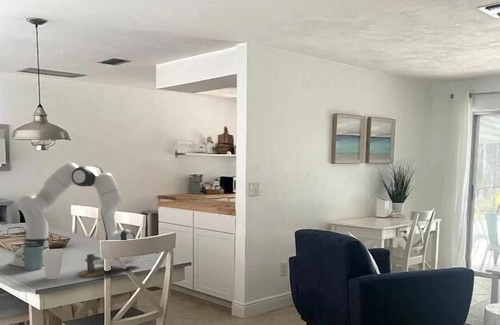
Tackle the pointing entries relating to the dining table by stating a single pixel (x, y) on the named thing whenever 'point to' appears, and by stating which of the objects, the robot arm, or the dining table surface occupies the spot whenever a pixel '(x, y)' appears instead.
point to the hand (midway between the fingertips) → (89, 261)
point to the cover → (90, 268)
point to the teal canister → (33, 257)
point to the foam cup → (52, 263)
